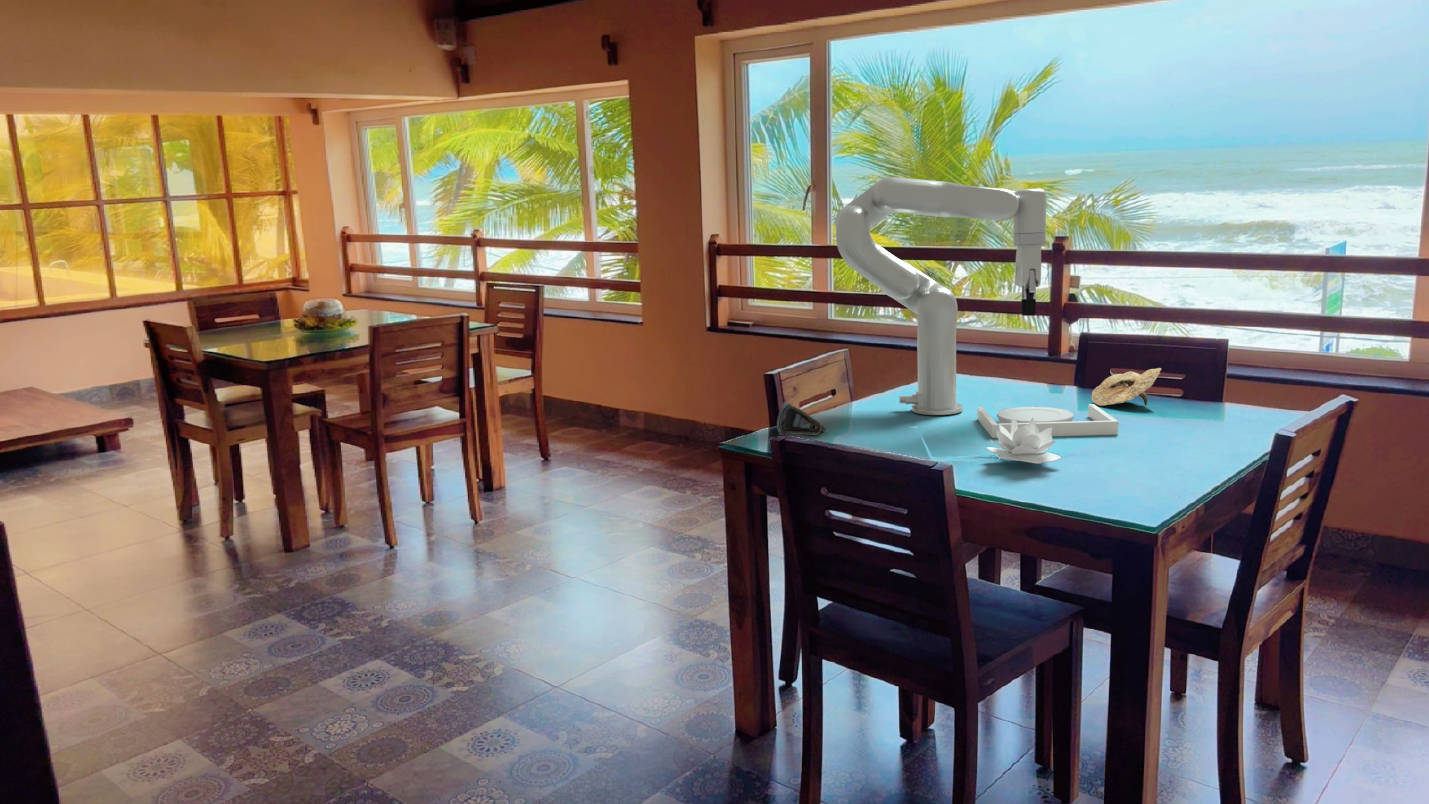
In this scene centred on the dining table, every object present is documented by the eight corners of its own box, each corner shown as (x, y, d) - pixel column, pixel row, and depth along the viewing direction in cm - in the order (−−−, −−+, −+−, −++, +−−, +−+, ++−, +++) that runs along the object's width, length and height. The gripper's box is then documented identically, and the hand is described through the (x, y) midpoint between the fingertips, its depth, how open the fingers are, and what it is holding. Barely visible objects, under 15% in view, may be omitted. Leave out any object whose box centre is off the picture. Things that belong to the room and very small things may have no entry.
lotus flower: (1047, 471, 208) (1048, 427, 207) (974, 463, 217) (974, 421, 215) (1070, 455, 220) (1070, 413, 218) (999, 448, 228) (1000, 408, 227)
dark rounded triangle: (837, 430, 250) (808, 393, 255) (824, 428, 244) (794, 390, 249) (810, 457, 253) (782, 420, 259) (796, 455, 247) (767, 418, 253)
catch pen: (992, 437, 237) (992, 424, 237) (977, 419, 257) (977, 407, 256) (1118, 434, 235) (1118, 421, 234) (1093, 416, 255) (1093, 403, 254)
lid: (1032, 440, 235) (1032, 427, 234) (982, 423, 254) (982, 411, 253) (1097, 431, 240) (1097, 418, 240) (1044, 416, 259) (1044, 404, 258)
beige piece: (1089, 427, 269) (1076, 401, 268) (1112, 403, 278) (1100, 377, 277) (1154, 413, 255) (1141, 385, 254) (1177, 388, 264) (1164, 361, 263)
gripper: (1009, 239, 267) (1008, 312, 270) (1018, 242, 252) (1017, 319, 256) (1039, 238, 266) (1038, 311, 269) (1051, 241, 251) (1049, 318, 255)
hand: (1028, 314), depth 262 cm, fingers closed
